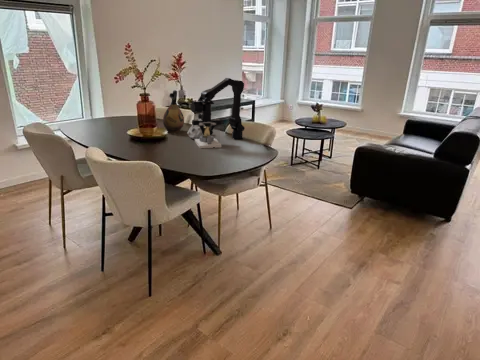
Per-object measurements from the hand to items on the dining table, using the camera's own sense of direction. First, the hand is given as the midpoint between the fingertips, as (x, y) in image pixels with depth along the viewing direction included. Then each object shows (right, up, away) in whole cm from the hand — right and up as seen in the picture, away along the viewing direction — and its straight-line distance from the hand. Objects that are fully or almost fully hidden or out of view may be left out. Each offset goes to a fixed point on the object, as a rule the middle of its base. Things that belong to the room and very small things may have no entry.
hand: (206, 135), depth 227 cm
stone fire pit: (+1, -6, -1) cm, 6 cm away
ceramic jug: (-27, +7, +30) cm, 42 cm away
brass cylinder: (0, -3, +1) cm, 3 cm away
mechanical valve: (-6, +1, +17) cm, 18 cm away
